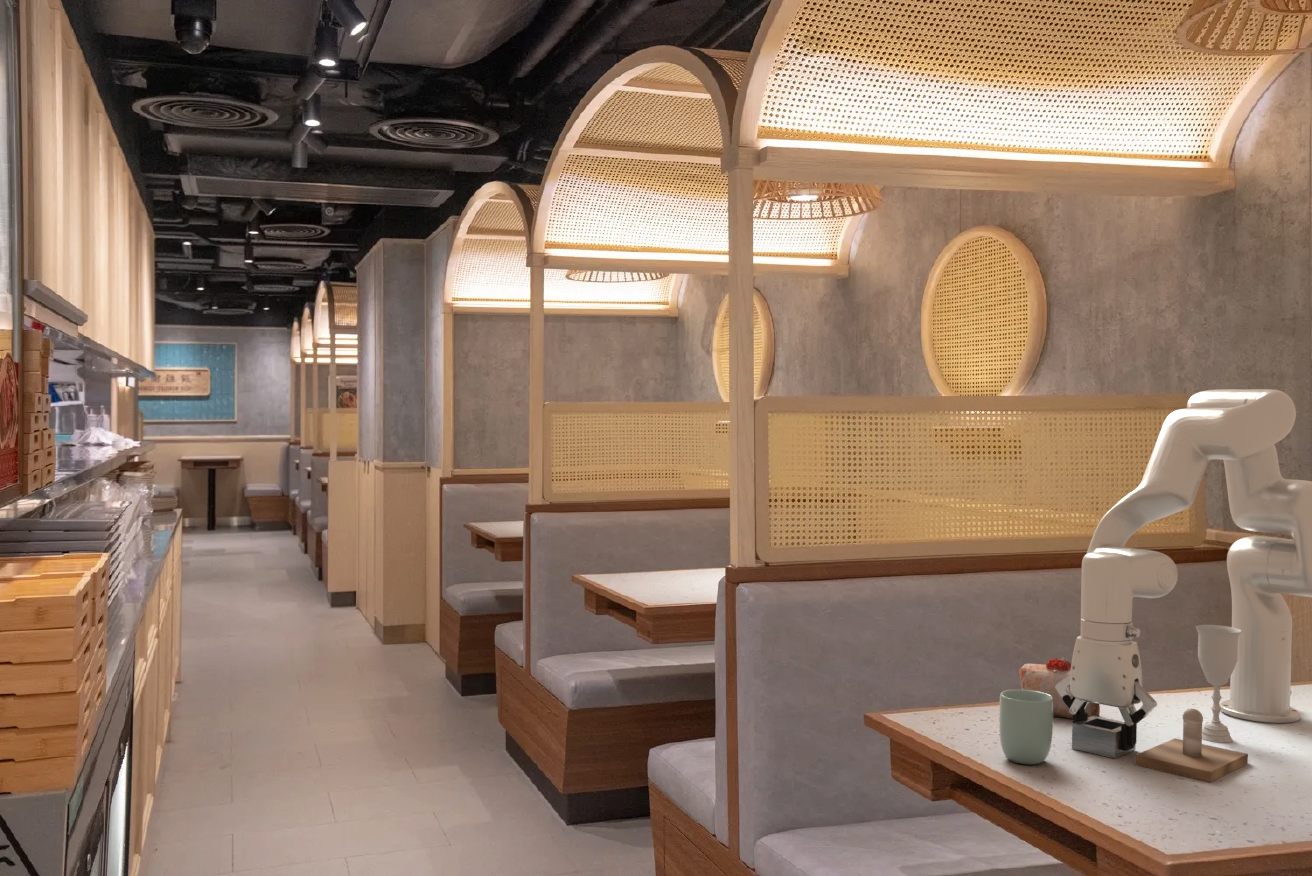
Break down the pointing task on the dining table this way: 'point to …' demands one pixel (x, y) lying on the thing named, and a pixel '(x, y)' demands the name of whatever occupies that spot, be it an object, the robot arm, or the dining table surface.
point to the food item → (1052, 684)
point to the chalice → (1217, 670)
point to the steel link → (1098, 736)
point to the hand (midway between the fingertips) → (1103, 743)
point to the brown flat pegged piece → (1192, 754)
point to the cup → (1026, 725)
